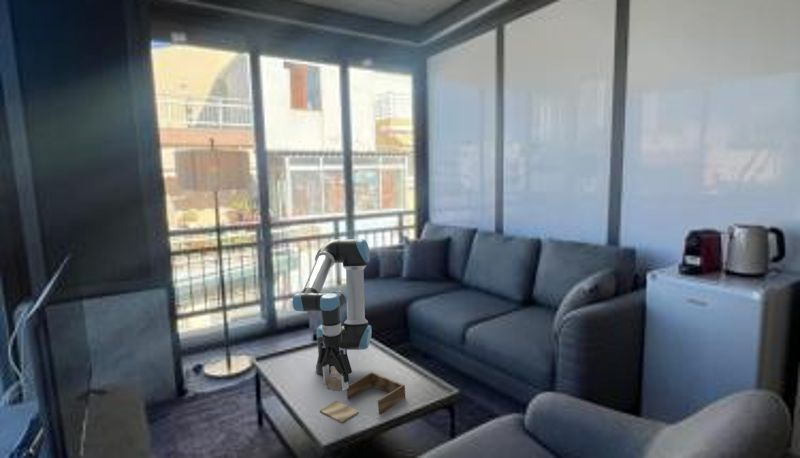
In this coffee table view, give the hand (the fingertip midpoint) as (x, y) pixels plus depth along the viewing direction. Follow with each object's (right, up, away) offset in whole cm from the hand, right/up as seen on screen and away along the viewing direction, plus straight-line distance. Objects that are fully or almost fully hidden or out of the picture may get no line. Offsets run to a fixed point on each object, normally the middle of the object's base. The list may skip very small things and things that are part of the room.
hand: (335, 384), depth 179 cm
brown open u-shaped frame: (+16, -10, +11) cm, 22 cm away
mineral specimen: (0, -1, +1) cm, 2 cm away
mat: (+1, -12, +2) cm, 12 cm away
